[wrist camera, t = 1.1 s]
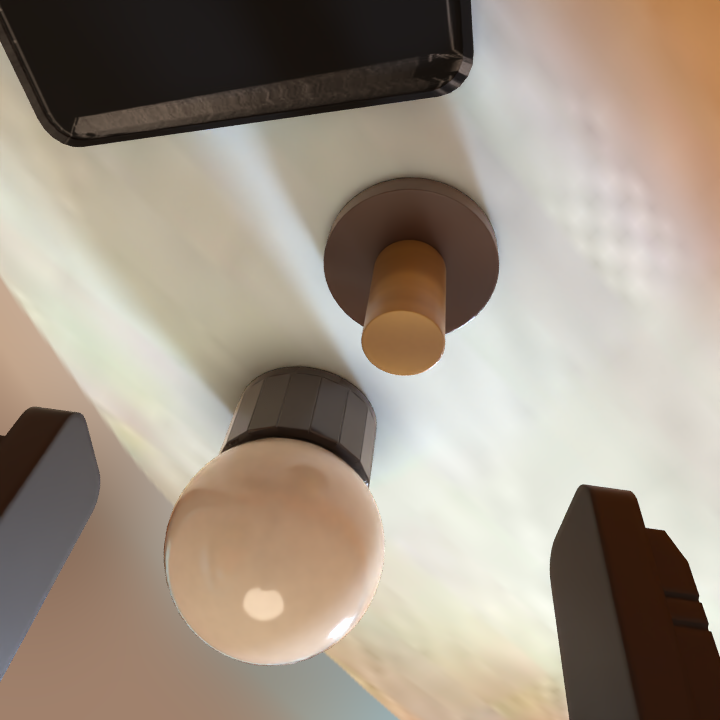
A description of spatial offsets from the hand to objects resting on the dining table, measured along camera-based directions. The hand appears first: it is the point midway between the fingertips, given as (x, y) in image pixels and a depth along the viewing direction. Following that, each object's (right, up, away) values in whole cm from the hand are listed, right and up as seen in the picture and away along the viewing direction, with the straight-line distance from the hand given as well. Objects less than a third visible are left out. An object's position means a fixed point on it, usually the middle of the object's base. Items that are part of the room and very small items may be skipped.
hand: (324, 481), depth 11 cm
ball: (-3, -6, +16) cm, 17 cm away
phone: (-4, +14, +10) cm, 17 cm away
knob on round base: (+3, +6, +15) cm, 17 cm away
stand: (-2, -1, +22) cm, 22 cm away
